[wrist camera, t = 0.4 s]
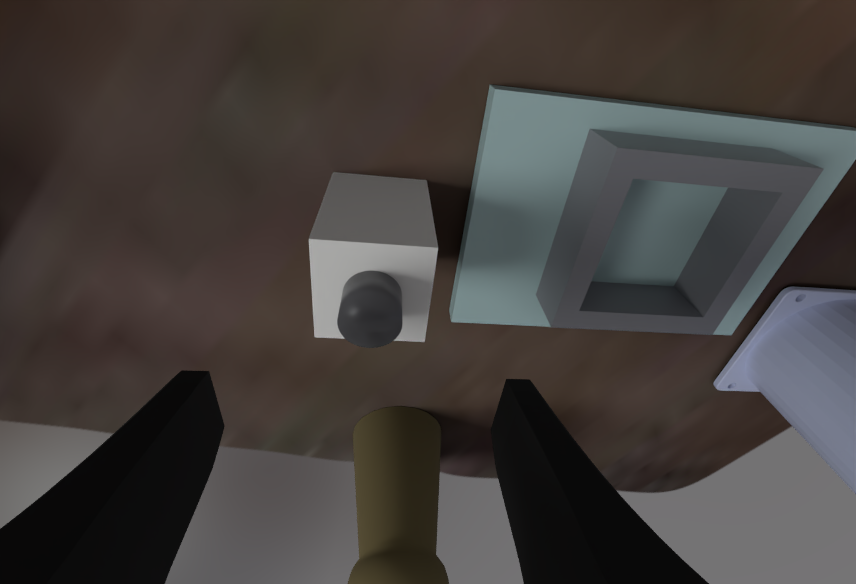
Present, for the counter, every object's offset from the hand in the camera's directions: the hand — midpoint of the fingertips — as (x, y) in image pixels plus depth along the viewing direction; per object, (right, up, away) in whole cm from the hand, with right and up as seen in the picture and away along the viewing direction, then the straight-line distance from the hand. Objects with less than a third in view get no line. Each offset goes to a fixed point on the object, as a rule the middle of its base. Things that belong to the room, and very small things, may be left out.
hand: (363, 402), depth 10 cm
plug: (-1, +6, +8) cm, 10 cm away
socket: (+11, +6, +9) cm, 16 cm away
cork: (0, -7, +18) cm, 19 cm away
